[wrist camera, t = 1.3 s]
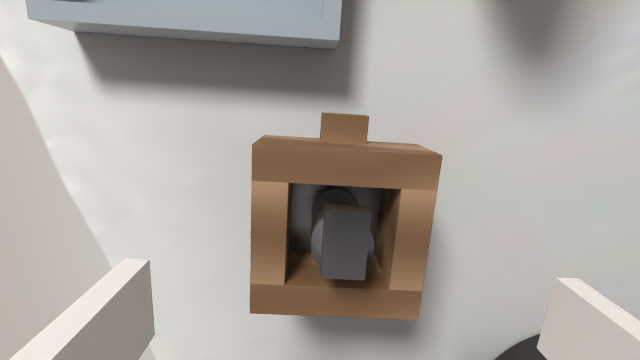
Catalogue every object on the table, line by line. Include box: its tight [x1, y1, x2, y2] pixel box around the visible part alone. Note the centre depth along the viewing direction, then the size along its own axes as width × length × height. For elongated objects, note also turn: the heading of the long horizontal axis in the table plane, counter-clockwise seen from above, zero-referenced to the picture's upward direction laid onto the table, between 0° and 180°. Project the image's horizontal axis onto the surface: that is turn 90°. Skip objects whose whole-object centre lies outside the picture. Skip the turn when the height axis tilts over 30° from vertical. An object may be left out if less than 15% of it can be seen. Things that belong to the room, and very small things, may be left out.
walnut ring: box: [250, 112, 442, 320], centre depth 18 cm, size 10×9×4 cm
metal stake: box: [289, 183, 382, 280], centre depth 20 cm, size 7×7×10 cm
